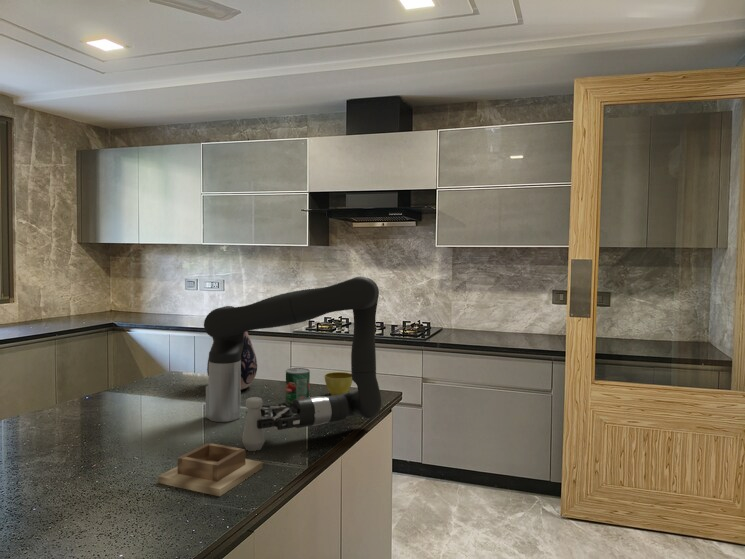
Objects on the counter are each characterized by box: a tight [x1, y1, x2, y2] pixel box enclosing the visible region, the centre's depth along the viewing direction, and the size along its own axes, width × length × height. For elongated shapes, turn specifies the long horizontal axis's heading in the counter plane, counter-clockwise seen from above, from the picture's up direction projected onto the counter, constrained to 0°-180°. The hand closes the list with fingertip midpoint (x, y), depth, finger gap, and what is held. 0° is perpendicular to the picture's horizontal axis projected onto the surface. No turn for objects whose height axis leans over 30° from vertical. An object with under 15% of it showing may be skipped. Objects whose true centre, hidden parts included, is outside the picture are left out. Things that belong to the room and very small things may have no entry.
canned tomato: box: [284, 367, 311, 407], centre depth 183 cm, size 8×8×11 cm
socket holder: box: [157, 442, 264, 497], centre depth 124 cm, size 16×16×5 cm
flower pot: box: [323, 371, 353, 396], centre depth 194 cm, size 10×10×7 cm
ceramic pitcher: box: [206, 331, 258, 391], centre depth 200 cm, size 18×21×25 cm
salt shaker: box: [241, 396, 266, 452], centre depth 141 cm, size 6×6×13 cm
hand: (251, 419), depth 141 cm, fingers open, 8 cm apart
